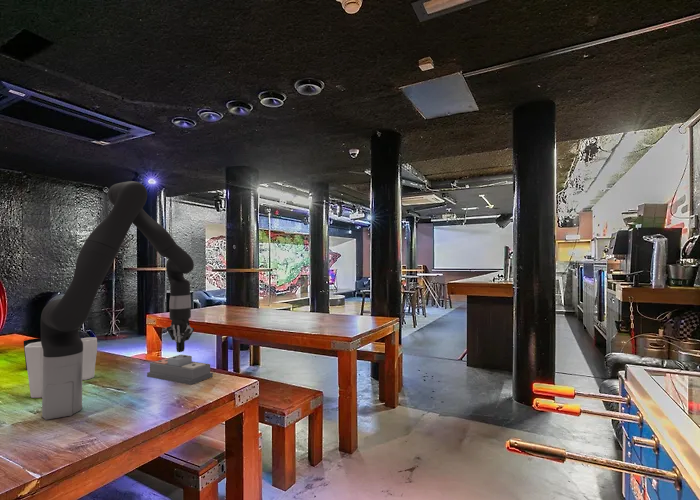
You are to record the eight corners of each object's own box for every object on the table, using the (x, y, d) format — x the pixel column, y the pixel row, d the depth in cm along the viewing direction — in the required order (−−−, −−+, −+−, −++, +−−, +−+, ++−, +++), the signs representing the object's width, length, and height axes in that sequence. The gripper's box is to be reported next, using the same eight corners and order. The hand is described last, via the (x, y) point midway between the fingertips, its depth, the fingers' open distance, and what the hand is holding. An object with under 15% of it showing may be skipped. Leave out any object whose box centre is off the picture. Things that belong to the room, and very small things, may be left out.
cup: (27, 367, 153) (27, 339, 154) (49, 364, 156) (50, 337, 157) (19, 371, 146) (20, 342, 147) (43, 369, 149) (43, 340, 150)
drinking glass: (101, 375, 140) (101, 337, 140) (86, 381, 133) (87, 341, 134) (85, 375, 140) (85, 337, 141) (70, 381, 134) (70, 340, 134)
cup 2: (58, 386, 128) (59, 338, 128) (71, 391, 122) (72, 341, 123) (17, 396, 118) (19, 344, 119) (29, 402, 113) (31, 348, 113)
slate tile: (191, 365, 139) (191, 355, 139) (178, 369, 134) (178, 359, 134) (180, 363, 142) (181, 354, 142) (167, 367, 136) (167, 357, 136)
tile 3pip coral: (178, 368, 142) (178, 359, 142) (164, 372, 137) (164, 363, 137) (167, 366, 145) (167, 357, 145) (154, 371, 139) (154, 361, 140)
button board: (212, 376, 137) (212, 363, 137) (191, 384, 128) (191, 370, 128) (169, 369, 147) (169, 357, 147) (147, 376, 138) (147, 363, 138)
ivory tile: (205, 373, 136) (205, 363, 136) (192, 377, 130) (192, 367, 130) (194, 371, 138) (194, 361, 138) (181, 375, 133) (181, 365, 133)
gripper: (200, 306, 139) (200, 350, 139) (176, 305, 145) (176, 347, 144) (184, 308, 132) (184, 355, 132) (160, 307, 138) (160, 352, 137)
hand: (180, 351), depth 138 cm, fingers closed
